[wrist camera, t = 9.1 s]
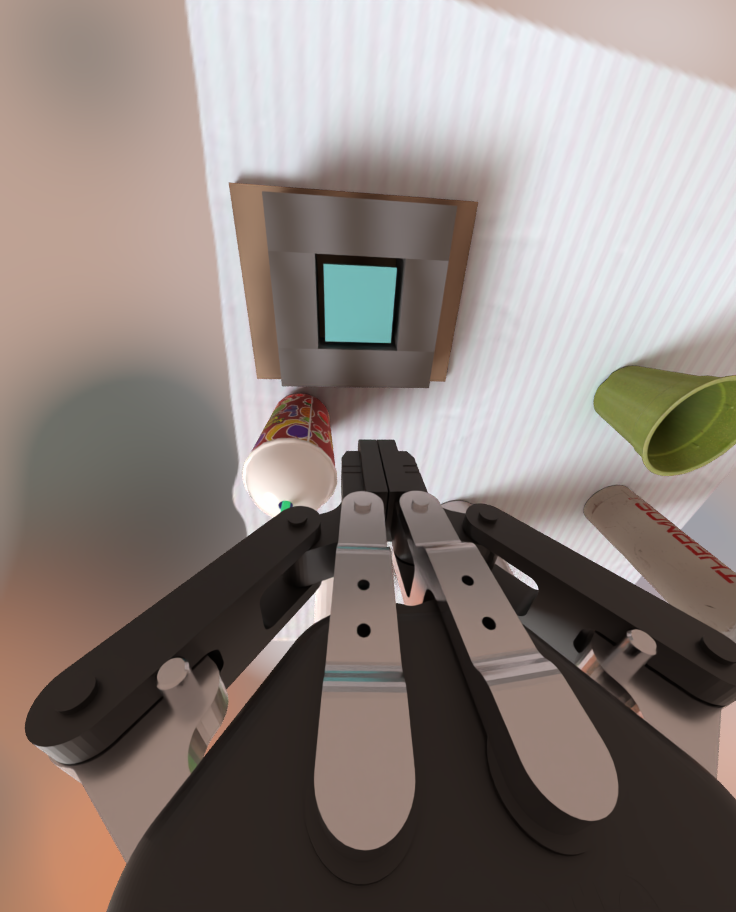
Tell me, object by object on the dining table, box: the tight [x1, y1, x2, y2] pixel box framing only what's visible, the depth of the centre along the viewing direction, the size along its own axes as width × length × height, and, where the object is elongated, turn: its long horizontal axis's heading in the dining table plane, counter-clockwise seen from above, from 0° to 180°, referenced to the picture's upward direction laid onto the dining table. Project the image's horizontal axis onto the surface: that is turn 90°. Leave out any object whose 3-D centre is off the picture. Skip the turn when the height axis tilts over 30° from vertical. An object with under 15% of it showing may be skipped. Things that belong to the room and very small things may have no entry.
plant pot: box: [594, 366, 736, 476], centre depth 38 cm, size 12×12×11 cm
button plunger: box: [324, 263, 397, 343], centre depth 30 cm, size 6×6×4 cm
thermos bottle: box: [584, 485, 736, 643], centre depth 42 cm, size 8×8×28 cm
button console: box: [229, 183, 478, 388], centre depth 31 cm, size 22×17×6 cm
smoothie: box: [242, 393, 337, 517], centre depth 31 cm, size 8×8×20 cm
